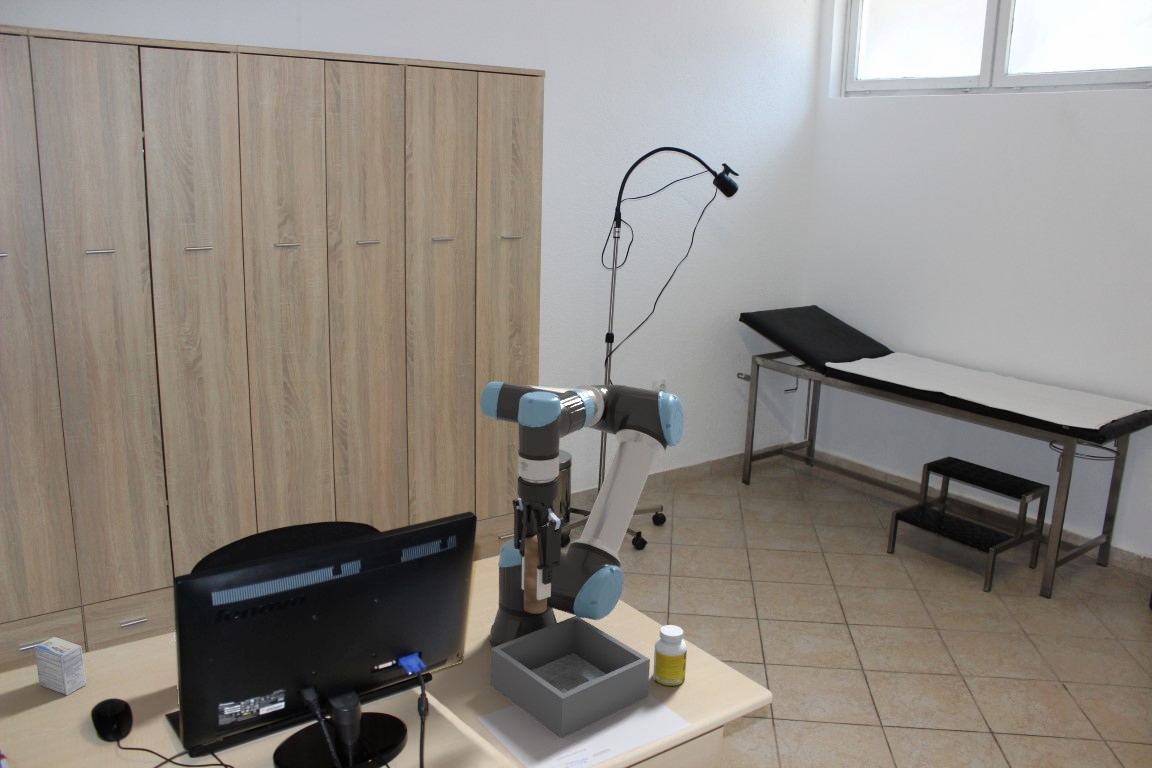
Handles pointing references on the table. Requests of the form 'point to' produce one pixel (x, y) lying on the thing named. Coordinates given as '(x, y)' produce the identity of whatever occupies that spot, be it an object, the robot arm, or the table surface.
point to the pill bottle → (670, 657)
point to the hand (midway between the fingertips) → (535, 592)
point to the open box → (577, 705)
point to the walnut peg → (532, 577)
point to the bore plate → (568, 671)
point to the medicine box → (60, 665)
